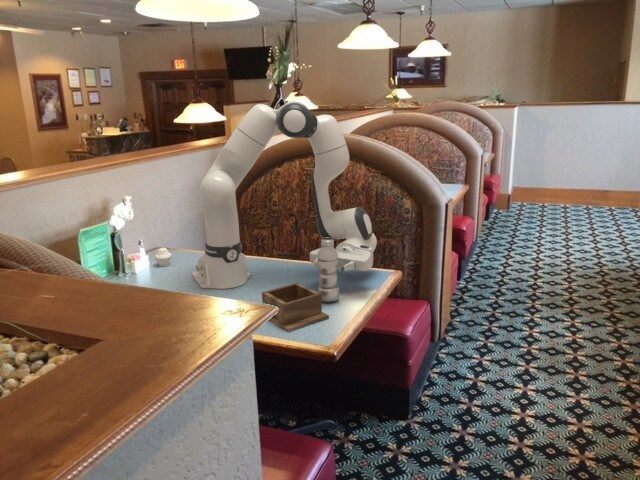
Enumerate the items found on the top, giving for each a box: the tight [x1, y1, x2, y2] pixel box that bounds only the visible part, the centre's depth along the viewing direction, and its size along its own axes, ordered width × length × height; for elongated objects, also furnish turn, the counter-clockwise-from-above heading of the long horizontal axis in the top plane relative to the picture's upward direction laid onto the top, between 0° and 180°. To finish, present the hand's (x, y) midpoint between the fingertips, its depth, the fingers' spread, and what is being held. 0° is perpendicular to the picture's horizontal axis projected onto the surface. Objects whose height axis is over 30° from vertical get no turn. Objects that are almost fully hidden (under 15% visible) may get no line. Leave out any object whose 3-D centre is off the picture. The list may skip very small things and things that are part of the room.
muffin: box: [154, 247, 172, 267], centre depth 206 cm, size 6×6×7 cm
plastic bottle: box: [317, 237, 341, 303], centre depth 166 cm, size 6×7×20 cm
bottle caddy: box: [261, 282, 330, 333], centre depth 158 cm, size 17×14×7 cm
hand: (329, 266), depth 167 cm, fingers open, 8 cm apart
